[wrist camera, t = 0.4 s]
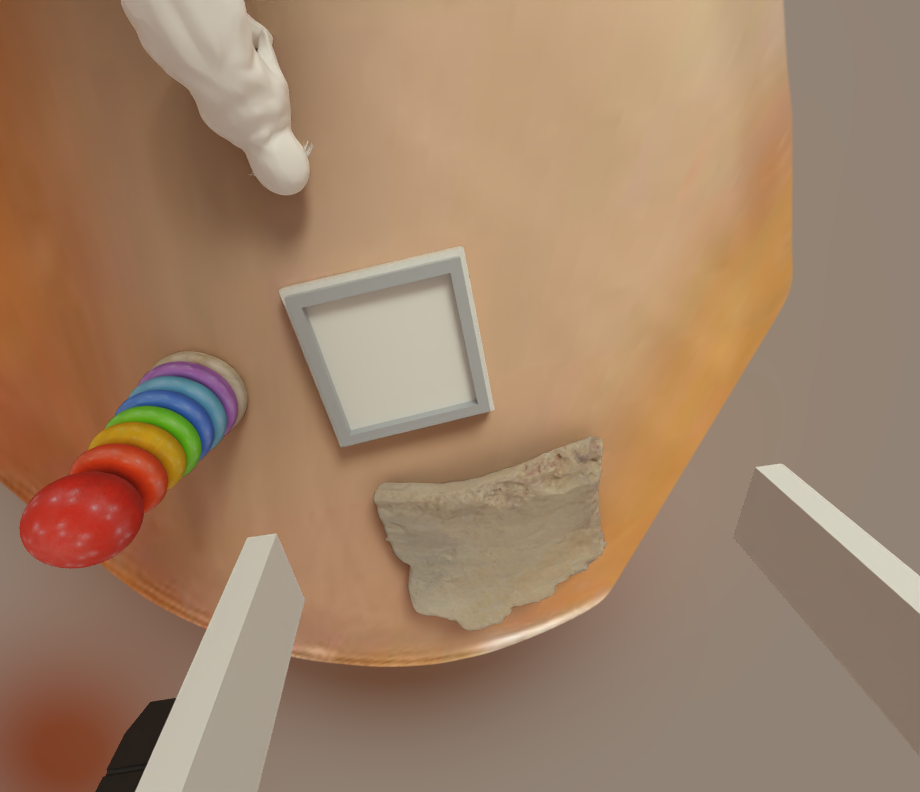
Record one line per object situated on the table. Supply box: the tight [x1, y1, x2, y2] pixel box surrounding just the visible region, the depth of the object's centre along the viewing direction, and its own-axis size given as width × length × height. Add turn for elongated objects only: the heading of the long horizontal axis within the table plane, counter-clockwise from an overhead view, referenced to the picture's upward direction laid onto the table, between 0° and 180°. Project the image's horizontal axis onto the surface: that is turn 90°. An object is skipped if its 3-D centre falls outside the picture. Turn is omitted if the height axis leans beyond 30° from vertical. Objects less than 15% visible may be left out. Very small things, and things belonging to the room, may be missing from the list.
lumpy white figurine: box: [121, 0, 313, 195], centre depth 26 cm, size 6×8×12 cm
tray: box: [279, 246, 494, 447], centre depth 37 cm, size 15×15×2 cm
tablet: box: [373, 436, 607, 631], centre depth 45 cm, size 24×8×20 cm
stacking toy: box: [20, 351, 248, 568], centre depth 29 cm, size 8×8×19 cm
